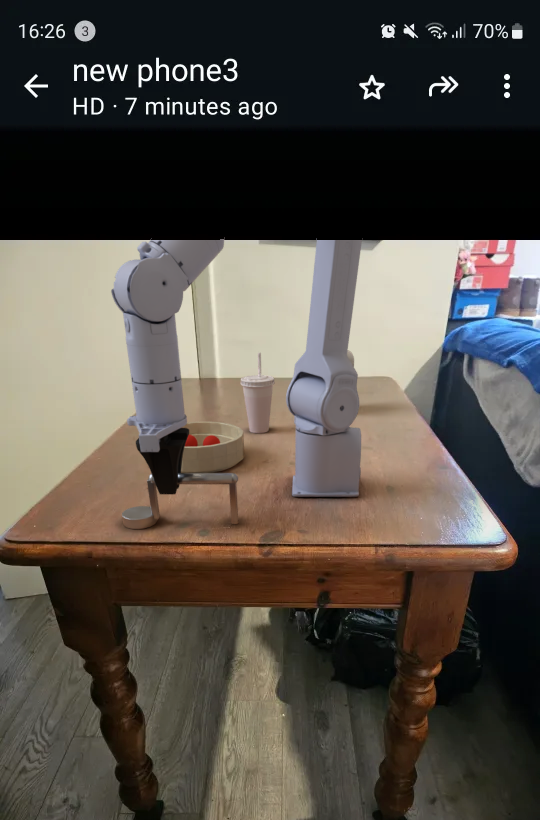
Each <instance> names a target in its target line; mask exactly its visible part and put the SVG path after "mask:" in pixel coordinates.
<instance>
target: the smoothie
mask: <svg viewBox="0 0 540 820" xmlns="http://www.w3.org/2000/svg"><path fill="white" fill-rule="evenodd" d="M257 372H258V373H257V374H256V375H255V374H254V375H246V376H243V377H241V378H240V385H241V386H242V389H243V390H242V391H243V399H244V404H245V411H246V417H247V424H248V429H249V432H250V433H254V434H264V433H268V432H269V428H270V418H271V409H272V400H273V399H272V398H273V389H274V385H275V383H276V382H275V377H274V376H272V375H266V374H264V375H263V374H262V353H261V352H258V353H257Z"/></svg>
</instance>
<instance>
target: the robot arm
mask: <svg viewBox="0 0 540 820" xmlns="http://www.w3.org/2000/svg"><path fill="white" fill-rule="evenodd" d="M362 242H363V239H362V240H317V239H316V245H315V252H314V253H315V254H314V264H313V272H312V273H313V275H312V285H311V295H310V306H309V315H308V326H307V335H306V347H305V351H304V353H303V354H302V355H301V356H300V357H299V359H298V360H296V362H295V364H294V369H293V370H294V371H293V375H292V378H291V381H290V382H289V385H288V387H287V390H286V395H285V403H286V407H287V409H288V411H289V412H290V414H291V415H293V424H294V425H295V440H294V441H295V442H294V443H295V444H294V445H295V446H294V447H295V448H294V449H295V455H294V457H295V459H294V461H295V462H294V463H295V465H294V468H295V469H294V472H295V474H293V475H292V488H291V489H292V490H291V495H292V497H293V498H294V497H295V498H310V497H311V498H318V497H319V498H325V497H326V498H332V497H333V498H355V497H359V495H360V492H359V491H360V489H359V488H360V479H361V473H362V471H361V469H362V468H361V459H362V458H361V457H362V430H361V428H360V427H352V424H353V423H354V422H355V420H356V418H357V416H358V413H359V410H360V396H359V392H358V377H359V374H358V371H357V370H356V368H355V366H354V367H353V365H352V363H351V362H350V360H349V358H348V356H347V351H348V350H349V342H350V336H351V335H350V334H351V327H352V319H353V311H354V305H355V296H356V288H357V281H358V274H359V265H360V258H361V250H362ZM224 246H225V238H224V239H220V240H151V239H150V240H149V241H148V242H147V241H141V243H140V244H139V245H138V246H137V247H136V250H137V251H138V254H139V259H132V260H127V261H126V262H124V263H123V264H122V265H120V267H119V268H118V269H117V271H116V273H115V276H114V278H115V279H114V281H113V288H112V289H111V291H110V293H111V296H112V300H113V301H114V304H115V305H116V307H117V308H118V309H119V310H120V311H121V313H122V316H123V324H124V330H125V342H126V343H125V344H126V350H127V358H128V364H129V366H128V367H129V370H130V371H129V372H130V380H131V386H132V394H133V402H134V409H135V415H131V416H129V417H128V418H127V419H126V423H127V426H129V427H136V429H137V431H138V438H137V439H136V440H135V447H136V450H137V451H138V452H139V454H140V455H141V456H142V458H143V459H144V461H145V463H146V464H147V467H148V469H149V471H150V474H152V476H153V479H154V481H155V484H156V490H157V493H158V494H159V495H176V494H177V491H178V489H179V488H180V485H181V484H178V473H181V466H182V457H183V452H184V447H185V444H186V441H187V438H188V435H189V429H188V428H181V427H183V426H185V425H186V424H187V423H188V417H187V415H186V414H185V401H184V392H183V390H184V389H183V382H182V380H183V379H182V372H181V362H180V361H181V360H180V352H179V351H180V350H179V341H178V340H179V339H178V333H177V321H176V314H177V313H179V311H180V310H181V307H182V304H183V300H184V292H185V291H187V289H189V288H190V286H191V285H192V284H194V282H195V281H196V280H197V279H198V277H200V275H201V274H202V273H203V272H204V270H206V268H208V266H209V265H210V264H211V263H212V262H213V261H214V259H215V258H216V257H217V256H218V255H219V254H220V253H221V252H222V251H223V249H224V248H225V247H224Z"/></svg>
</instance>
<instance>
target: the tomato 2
mask: <svg viewBox="0 0 540 820" xmlns="http://www.w3.org/2000/svg"><path fill="white" fill-rule="evenodd" d="M215 444H220V440H219V439H218V438H217V437H216V436H213V435H210V436H207V437H206V438H205V439H204V441H203V446H208V445H215Z"/></svg>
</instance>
